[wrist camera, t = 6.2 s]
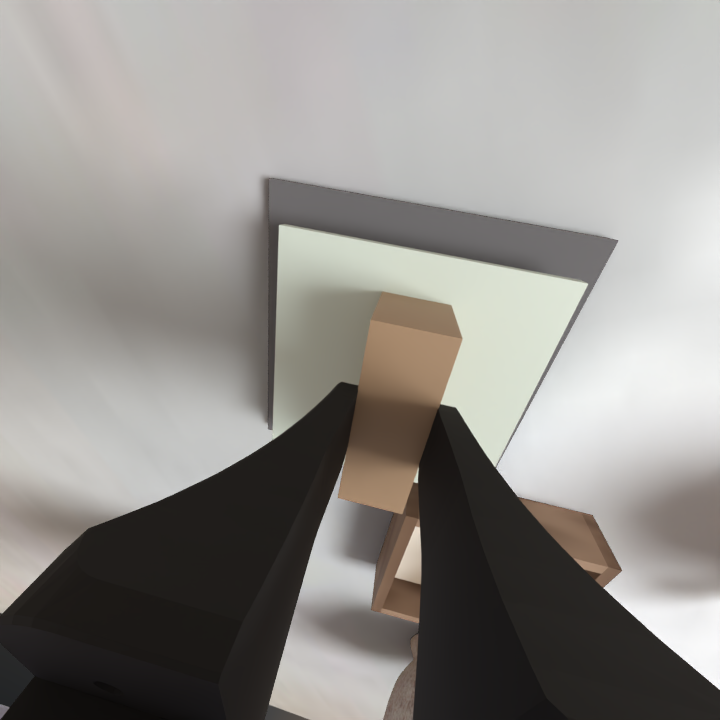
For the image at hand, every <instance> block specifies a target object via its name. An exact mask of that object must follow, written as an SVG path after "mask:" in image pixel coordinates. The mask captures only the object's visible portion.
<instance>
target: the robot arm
mask: <svg viewBox="0 0 720 720" xmlns="http://www.w3.org/2000/svg"><path fill="white" fill-rule="evenodd" d="M357 394H358V385H354V384H350V383H345V382H340V383H338V384H337V385H336V386H335V387H334V388H333V389H332V391H331V392H330V393H329V394H328V395H327V396H326V397H325V398H324V399H323V400H322V401H320V402H319V403H318V404H317V405H316V406H315V407H314V408H313V409H312V410H310V411H309V412H308V413H307V414H306V415H305V416H304V417H302V418H301V419H300V420H299V421H297V422H296V423H295V424H294V425H292V426H291V427H290V428H288V429H287V430H286V431H285V432H283V433H282V434H281V435H279V436H278V437H276V438H275V439H274V440H272V441H271V442H269V443H268V444H266V445H265V446H263V447H262V448H260V449H258V450H257V451H255V452H254V453H252V454H251V455H249V456H247V457H245V458H244V459H242V460H240V461H239V462H237V463H235V464H233V465H232V466H230V467H228V468H226V469H224V470H223V471H221V472H219V473H217V474H215V475H213V476H211V477H209V478H207V479H205V480H203V481H201V482H199V483H197V484H195V485H193V486H190V487H188V488H186V489H184V490H182V491H180V492H178V493H176V494H174V495H172V496H169V497H167V498H165V499H163V500H160V501H158V502H156V503H153V504H151V505H148V506H146V507H143V508H141V509H138V510H135V511H133V512H130V513H128V514H125V515H123V516H120V517H118V518H115V519H112V520H110V521H107V522H105V523H102V524H99V525H97V526H94V527H91V528H89V529H87V530H86V531H85V532H84V533H83V534H82V535H81V536H80V537H79V538H78V539H76V540H75V541H74V542H73V543H72V544H71V545H70V546H69V547H68V548H67V549H65V550H64V551H63V552H62V553H61V554H60V555H59V556H58V557H57V558H56V560H55V561H54V562H53V563H52V564H51V565H50V566H49V567H48V568H47V569H46V570H45V571H44V572H43V573H42V574H41V575H40V576H39V577H38V578H37V579H36V580H35V581H34V582H33V583H32V584H31V585H30V586H29V587H28V588H27V589H26V590H25V591H24V592H23V593H22V594H21V595H20V596H19V597H18V598H17V599H16V600H15V601H14V602H13V603H12V604H11V605H10V606H9V607H8V609H7V610H6V611H5V612H4V613H3V614H2V615H1V616H0V643H1V644H2V646H3V647H4V648H6V649H7V650H8V651H9V652H10V653H11V654H12V655H13V656H14V657H15V658H16V659H17V660H18V661H19V662H21V663H22V664H23V665H24V666H25V667H26V668H27V669H28V670H29V671H30V672H31V673H32V674H33V675H34V676H35V677H34V678H33V679H32V680H31V682H30V683H29V684H28V685H27V687H26V688H25V689H24V691H23V692H22V693H21V694H20V695H19V697H18V698H17V699H16V700H15V702H14V703H13V704H12V706H11V707H7V706H4V705H0V720H265V716H266V712H267V709H268V705H269V701H270V698H271V694H272V690H273V687H274V683H275V679H276V676H277V672H278V668H279V665H280V661H281V657H282V654H283V650H284V646H285V643H286V639H287V636H288V632H289V628H290V625H291V621H292V617H293V614H294V610H295V607H296V603H297V600H298V596H299V593H300V589H301V585H302V582H303V578H304V575H305V571H306V568H307V564H308V561H309V557H310V554H311V550H312V547H313V543H314V540H315V537H316V534H317V531H318V529H319V526H320V523H321V520H322V518H323V515H324V513H325V510H326V507H327V505H328V502H329V499H330V497H331V494H332V492H333V489H334V486H335V484H336V481H337V479H338V476H339V473H340V471H341V468H342V465H343V463H344V459H345V455H346V452H347V448H348V443H349V437H350V432H351V427H352V421H353V416H354V411H355V405H356V400H357ZM418 496H419V518H420V538H421V592H420V614H419V632H418V650H417V666H416V680H415V695H414V710H413V720H720V690H719V689H718V688H717V687H715V686H714V685H713V684H712V683H711V682H709V681H708V680H707V679H706V678H705V677H704V676H702V675H701V674H700V673H699V672H698V671H696V670H695V669H694V668H693V667H692V666H690V665H689V664H688V663H687V662H686V661H684V660H683V659H682V658H681V657H680V656H679V655H677V654H676V653H675V652H674V651H673V650H671V649H670V648H669V647H668V646H667V645H665V644H664V643H663V642H662V641H661V640H660V639H658V638H657V637H656V636H655V635H654V634H653V633H652V632H651V631H649V630H648V629H647V628H646V627H645V626H644V625H643V624H642V623H641V622H640V621H638V620H637V619H636V618H635V617H634V616H633V615H632V614H631V613H630V612H629V611H627V610H626V609H625V608H624V607H623V606H622V605H621V604H620V603H619V602H618V601H616V600H615V599H614V598H613V597H612V596H611V595H610V594H609V593H608V592H607V591H606V590H605V589H604V588H603V587H602V586H601V585H600V584H598V583H597V582H596V581H595V580H594V579H593V578H592V577H591V576H590V575H589V574H588V573H587V572H586V571H585V570H584V569H583V568H582V567H581V566H580V565H579V564H578V563H577V562H576V561H575V560H574V559H573V558H572V557H571V556H570V555H569V554H568V553H567V552H566V551H565V550H564V549H563V548H562V547H561V545H560V544H559V543H558V542H557V541H556V540H555V539H554V538H553V537H552V536H551V535H550V534H549V533H548V532H547V530H546V529H545V528H544V527H543V526H542V525H541V524H540V523H539V521H538V520H537V519H536V518H535V517H534V516H533V514H532V513H531V512H530V511H529V510H528V509H527V508H526V506H525V505H524V504H523V503H522V502H521V500H520V499H519V498H518V497H517V496H516V494H515V493H514V492H513V490H512V489H511V488H510V487H509V485H508V484H507V483H506V481H505V480H504V479H503V477H502V476H501V475H500V473H499V472H498V471H497V469H496V468H495V467H494V465H493V464H492V462H491V461H490V459H489V458H488V457H487V455H486V454H485V452H484V451H483V449H482V448H481V446H480V445H479V443H478V442H477V440H476V438H475V437H474V435H473V434H472V432H471V431H470V429H469V427H468V426H467V424H466V423H465V421H464V419H463V418H462V416H461V415H460V413H459V411H458V410H457V408H456V407H451V406H447V405H443V404H440V407H439V408H438V410H437V413H436V416H435V419H434V422H433V425H432V428H431V431H430V434H429V437H428V439H427V442H426V445H425V448H424V451H423V454H422V457H421V460H420V463H419V470H418Z"/></svg>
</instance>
